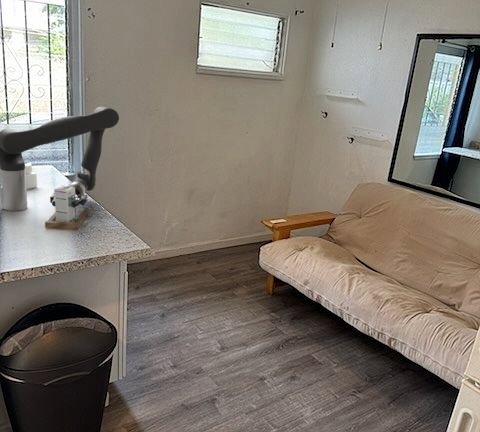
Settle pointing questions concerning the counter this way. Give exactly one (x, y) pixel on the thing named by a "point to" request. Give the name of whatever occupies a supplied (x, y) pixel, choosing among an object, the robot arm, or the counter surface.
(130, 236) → the counter surface
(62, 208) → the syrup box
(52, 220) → the open wooden frame
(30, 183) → the medicine bottle
